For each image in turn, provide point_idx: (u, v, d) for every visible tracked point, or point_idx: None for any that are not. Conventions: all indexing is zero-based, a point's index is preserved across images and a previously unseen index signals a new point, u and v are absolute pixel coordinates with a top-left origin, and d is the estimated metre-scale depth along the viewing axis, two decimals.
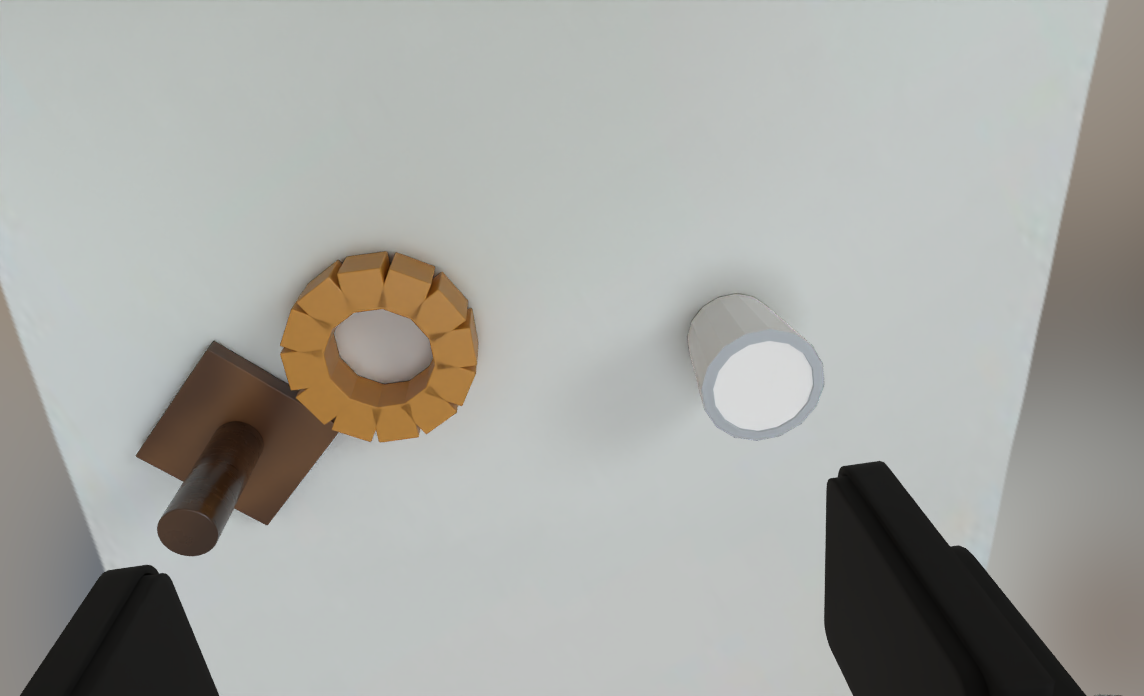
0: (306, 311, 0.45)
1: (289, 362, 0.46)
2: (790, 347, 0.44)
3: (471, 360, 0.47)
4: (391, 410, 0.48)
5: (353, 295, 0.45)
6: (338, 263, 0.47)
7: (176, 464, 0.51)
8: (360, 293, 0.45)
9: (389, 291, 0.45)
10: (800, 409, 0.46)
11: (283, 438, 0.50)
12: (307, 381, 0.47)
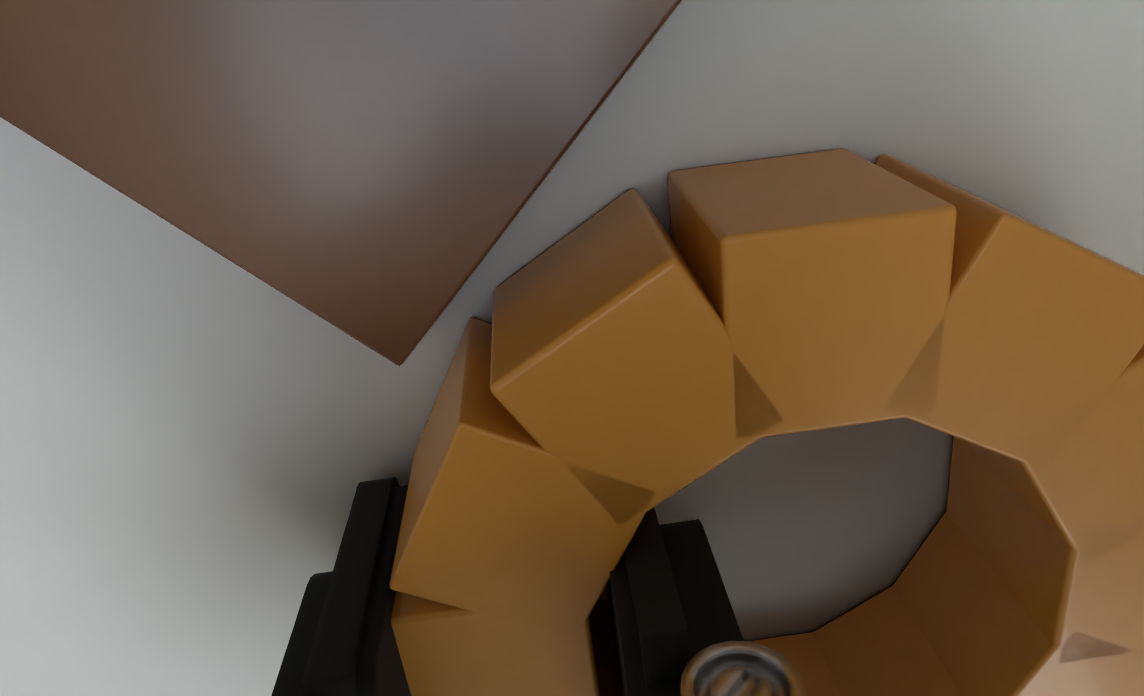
0: None
1: (896, 251, 0.08)
2: None
3: None
4: (568, 670, 0.10)
5: None
6: None
7: None
8: None
9: (1120, 670, 0.11)
10: None
11: (310, 64, 0.09)
12: (768, 331, 0.09)
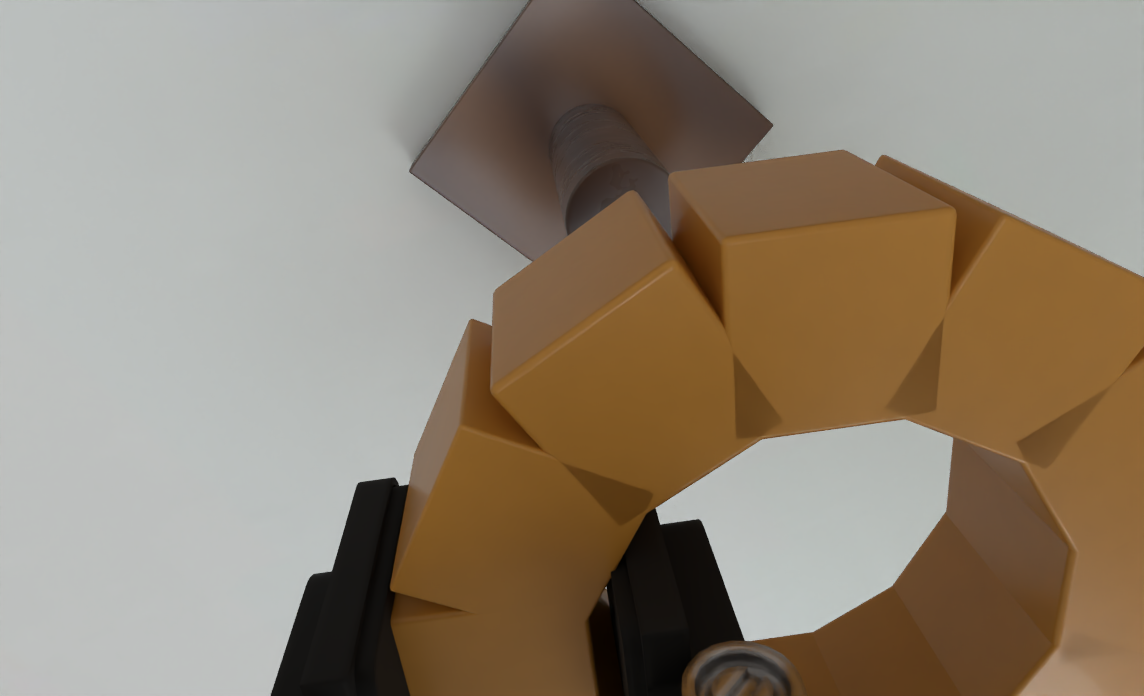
0: None
1: (897, 253, 0.08)
2: None
3: None
4: (569, 671, 0.10)
5: None
6: None
7: (550, 23, 0.27)
8: None
9: (1120, 671, 0.11)
10: None
11: None
12: (769, 333, 0.09)
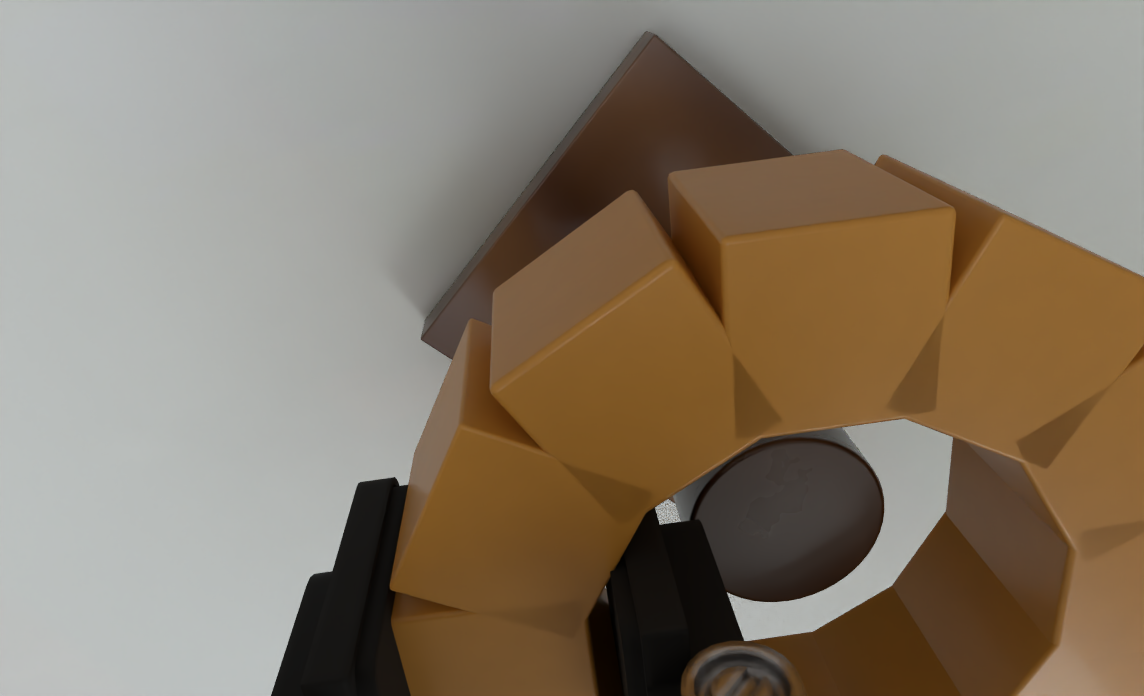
0: None
1: (896, 253, 0.08)
2: None
3: None
4: (568, 671, 0.10)
5: None
6: None
7: (621, 143, 0.19)
8: None
9: (1119, 670, 0.11)
10: None
11: None
12: (768, 333, 0.09)
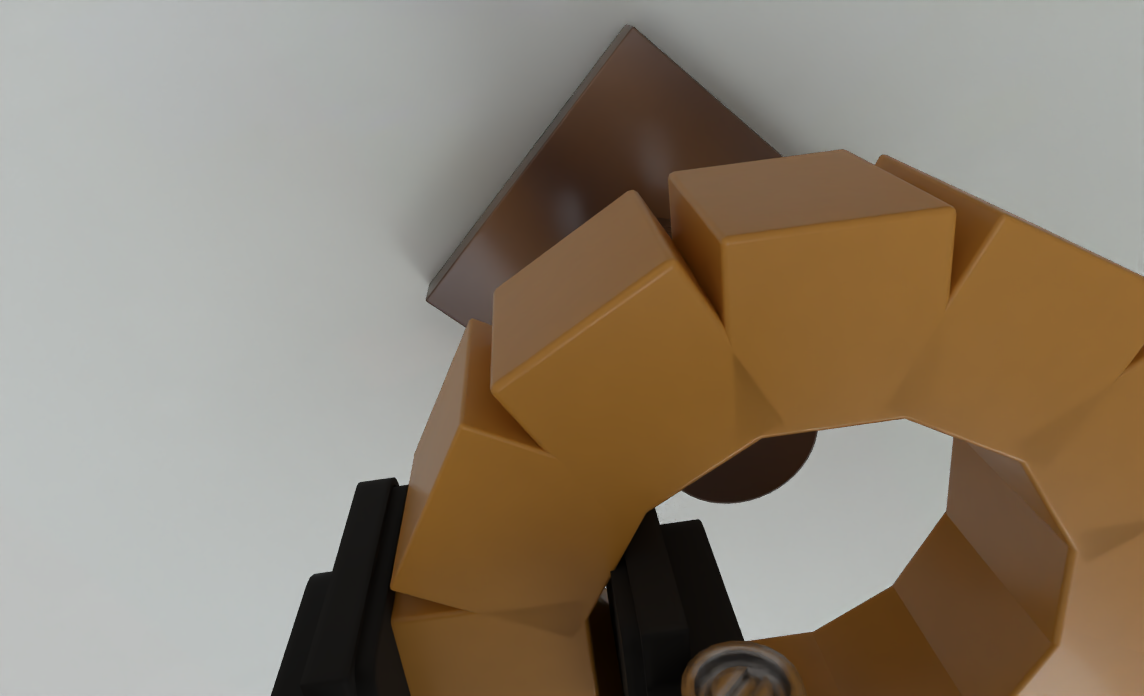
0: None
1: (896, 252, 0.08)
2: None
3: None
4: (569, 670, 0.10)
5: None
6: None
7: (603, 123, 0.21)
8: None
9: (1120, 670, 0.11)
10: None
11: None
12: (768, 332, 0.09)
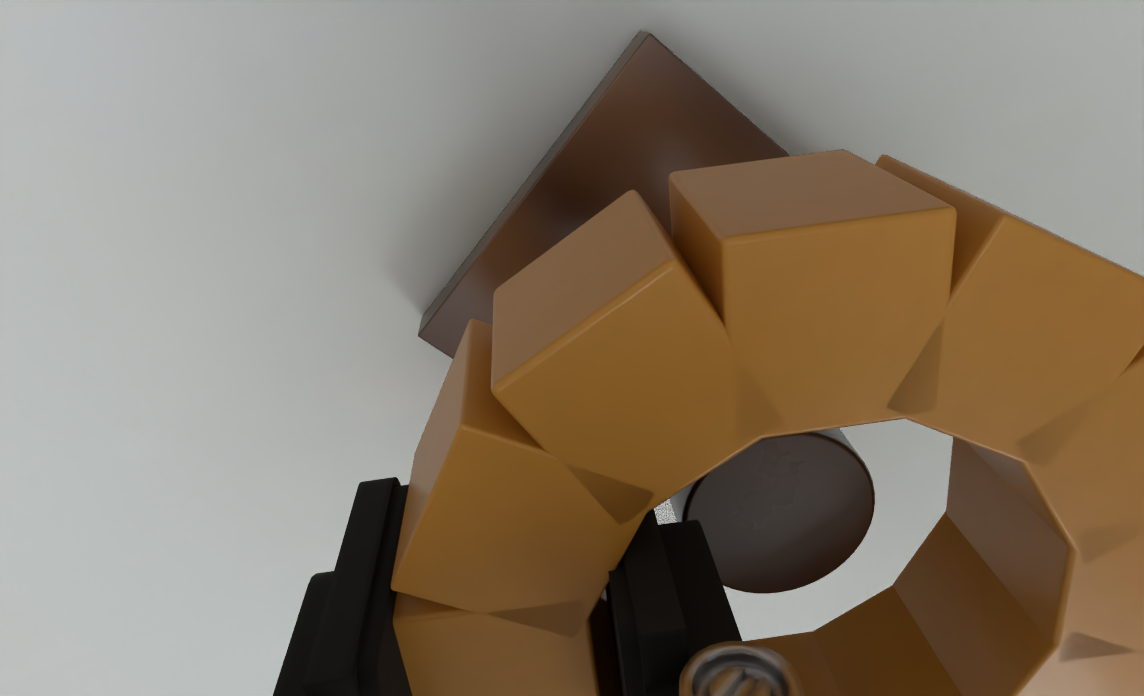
0: None
1: (897, 252, 0.08)
2: None
3: None
4: (569, 670, 0.10)
5: None
6: None
7: (616, 141, 0.19)
8: None
9: (1119, 670, 0.11)
10: None
11: None
12: (769, 332, 0.09)
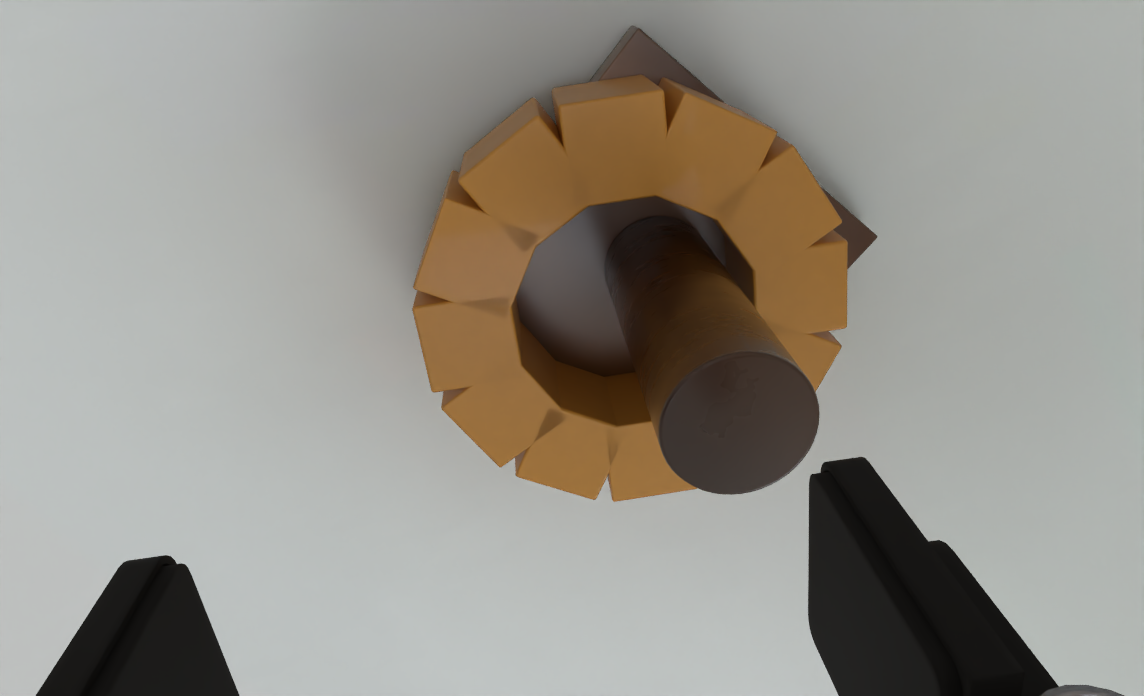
0: (767, 166, 0.19)
1: (638, 111, 0.18)
2: None
3: (624, 492, 0.23)
4: (503, 338, 0.20)
5: (794, 272, 0.20)
6: None
7: None
8: (797, 287, 0.20)
9: (794, 344, 0.21)
10: None
11: None
12: (584, 150, 0.19)
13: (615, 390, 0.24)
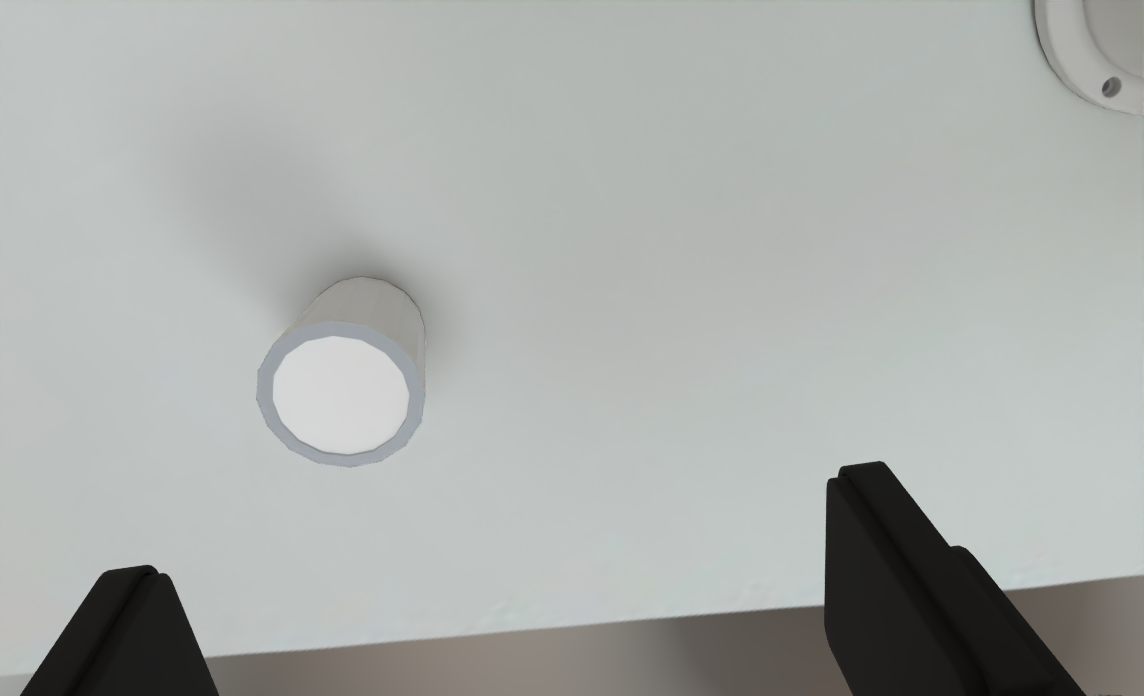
0: None
1: None
2: (401, 421, 0.35)
3: None
4: None
5: None
6: None
7: None
8: None
9: None
10: (311, 445, 0.35)
11: None
12: None
13: None
